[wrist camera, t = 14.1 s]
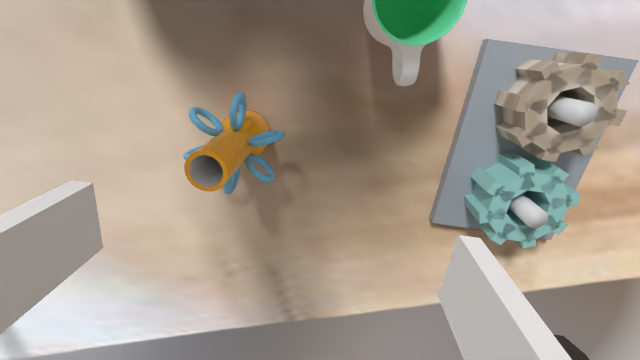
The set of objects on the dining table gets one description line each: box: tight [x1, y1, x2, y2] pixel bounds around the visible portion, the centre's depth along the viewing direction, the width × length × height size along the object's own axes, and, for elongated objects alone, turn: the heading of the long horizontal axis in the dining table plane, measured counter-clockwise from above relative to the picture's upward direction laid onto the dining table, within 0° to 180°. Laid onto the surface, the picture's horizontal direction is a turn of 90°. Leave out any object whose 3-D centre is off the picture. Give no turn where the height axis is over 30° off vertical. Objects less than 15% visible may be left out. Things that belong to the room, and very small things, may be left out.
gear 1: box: [494, 53, 629, 162], centre depth 36 cm, size 11×11×5 cm
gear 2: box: [464, 151, 579, 248], centre depth 40 cm, size 11×11×5 cm
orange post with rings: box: [184, 92, 285, 194], centre depth 36 cm, size 12×10×15 cm
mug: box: [363, 0, 467, 86], centre depth 32 cm, size 12×8×10 cm
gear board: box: [430, 39, 638, 240], centre depth 38 cm, size 24×17×8 cm
